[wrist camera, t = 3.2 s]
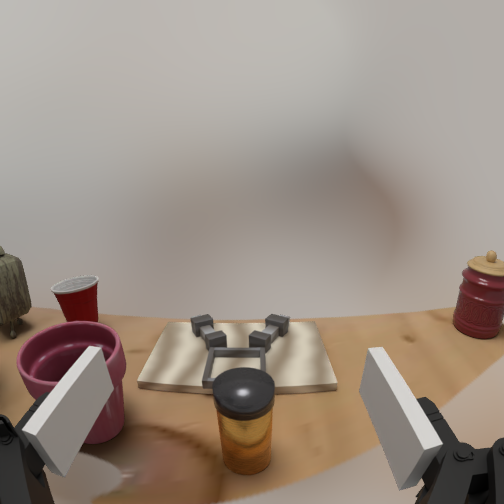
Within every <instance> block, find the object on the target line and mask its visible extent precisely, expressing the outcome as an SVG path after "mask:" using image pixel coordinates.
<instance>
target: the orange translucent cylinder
mask: <svg viewBox="0 0 504 504" xmlns="http://www.w3.org/2000/svg"><path fill="white" fill-rule="evenodd" d="M212 389H213V398H214V405H215V408H216V409H217V417H218V424H219V432H220V439H221V446H222V453H223V459H224V463H225V465H226V466H227V468H228V469H230V470H231V471H233V472H235V473H237V474H242V475H252V474H256V473H259V472H261V471H263V470H264V469H265V468H266V467H267V466H268V465H269V463H270V459H271V436H272V410H273V405H274V398H275V382H274V380H273V378H272V377H271V376H270V375H269V374H268V373H266V372H264V371H262V370H259V369H256V368H250V367H239V368H233V369H229V370H227V371H224V372H223V373H221V374H219V375H218V376H217V377H216V378H215V380H214V381H213V384H212Z"/></svg>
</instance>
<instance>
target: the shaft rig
mask: <svg viewBox="0 0 504 504" xmlns="http://www.w3.org/2000/svg"><path fill="white" fill-rule="evenodd" d="M289 320H290V317H289V316H285V315H280V316H279V315H274V314H271V315H269V316H268V317H267V318H266V319H265V323H213V319H212V318H211V316H210V315H208V314H207V315H202V316H201V315H198V316H193V317H191V323H185V322H168V323H167V325H166V327H165V329H164V331H163V332H162V334H161V336H160V338H159V340H158V342H157V344H156V345H155V347H154V349H153V351H152V353H151V355H150V357H149V359H148V360H147V362H146V364H145V366H144V368H143V370H142V372H141V374H140V376H139V378H138V380H137V383H138V387H139V388H143V389H151V390H161V391H172V392H185V393H202V394H213V389H212V384H213V381H214V380H215V378H216V377H217V376H218V375H219V374H221V373H223V372H224V371H227V370H229V369H233V368H239V367H250V368H256V369H259V370H262V371H264V372H266V373H268V374H269V375H270V376H271V377H272V378H273V380H274V382H275V394H292V393H309V392H322V391H333V390H336V388H337V380H336V377H335V375H334V372H333V369H332V366H331V363H330V361H329V358H328V355H327V353H326V350H325V347H324V344H323V342H322V339H321V336H320V334H319V331H318V328H317V326H316V323H315V321H312V322H289Z"/></svg>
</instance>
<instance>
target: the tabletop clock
mask: <svg viewBox="0 0 504 504" xmlns="http://www.w3.org/2000/svg"><path fill="white" fill-rule="evenodd" d="M30 308H31V299H30V295H29V291H28V285H27V281H26V277H25V273H24V269H23V265H22V262H21V260H20V259H19V258H17V257H15V256H13V255H10V254H7V253H5V252H4V250H3V248H2V247H1V246H0V325H1V324H2V325H3V324H5V323H7V322H9V321H10V324H11V329H12V331H11V332H10V335H11V337H12V338H15V337H16V332H15V331H14V319H16V318H17V319H18V320H17V323H18V324H19V325H21V324H22V323H23V321H22V319H20V318H19V317H20V316H22V315H24V314H27V313H28V312H29V310H30Z"/></svg>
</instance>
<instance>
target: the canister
mask: <svg viewBox="0 0 504 504" xmlns="http://www.w3.org/2000/svg"><path fill="white" fill-rule="evenodd" d="M467 264H468V266H469V267H468V268H466V269H465V270H463V272H462V275H463V277H464V278H463V282H462V284H461V285H460V287H459V289H460V291H459V296H458V301H457V305H456V309H455V311H454V315H453V324H454V326H455V327H456V328H457V329H458V330H459V331H461V332H462V333H464V334H466V335H468V336H471V337H475V338H482V339H487V338H492V337H494V336H496V335H497V334H498V332H499V330H500V328H501V325H502V320H503V317H504V262H503V261H501V260H498V259H497V255H496V253H495V252H494V251H489V252H488V253H487V256H486V257H485V256H477V257H475V258H473V259H471V260H469V261H468V262H467Z"/></svg>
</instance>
